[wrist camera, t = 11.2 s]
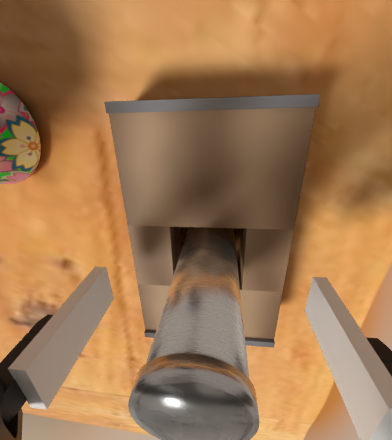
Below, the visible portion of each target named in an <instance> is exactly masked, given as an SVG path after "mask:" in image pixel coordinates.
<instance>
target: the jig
mask: <svg viewBox="0 0 392 440" xmlns="http://www.w3.org/2000/svg"><path fill="white" fill-rule="evenodd" d="M319 99H320V94H307V95H279V96H251V97H224V98H196V99H169V100H141V101H113V102H105V107H106V113H109V117H110V123H111V129H112V135H113V141H114V147H115V153H116V158H117V164H118V170H119V176H120V182H121V188H122V194H123V200H124V206H125V212H126V218H127V223H128V229H129V235H130V241H131V247H132V253H133V259H134V265H135V271H136V277H137V283H138V288H139V294H140V300H141V306H142V312H143V318H144V324H145V337H152V338H154V337H155V333H156V330H157V327H158V324H159V321H160V317H161V314H162V311H163V308H164V304H165V301H166V298H167V295H168V292H169V288H170V285H171V282H172V279H173V276H174V272H175V269H176V266H177V263H178V259H179V256H180V253H181V250H182V248H181V231H180V227H207V228H241V233H240V247H239V261H237V266H238V276H239V286H240V295H241V305H242V315H243V324H244V334H245V344H246V345H250V346H262V347H274V344H275V342H274V337H275V331H276V326H277V320H278V314H279V309H280V303H281V298H282V292H283V287H284V281H285V276H286V270H287V265H288V259H289V254H290V248H291V242H292V237H293V231H294V226H295V220H296V215H297V209H298V204H299V198H300V193H301V187H302V182H303V176H304V170H305V165H306V159H307V154H308V148H309V143H310V137H311V132H312V126H313V121H314V115H315V110H316V107H318V105H319Z"/></svg>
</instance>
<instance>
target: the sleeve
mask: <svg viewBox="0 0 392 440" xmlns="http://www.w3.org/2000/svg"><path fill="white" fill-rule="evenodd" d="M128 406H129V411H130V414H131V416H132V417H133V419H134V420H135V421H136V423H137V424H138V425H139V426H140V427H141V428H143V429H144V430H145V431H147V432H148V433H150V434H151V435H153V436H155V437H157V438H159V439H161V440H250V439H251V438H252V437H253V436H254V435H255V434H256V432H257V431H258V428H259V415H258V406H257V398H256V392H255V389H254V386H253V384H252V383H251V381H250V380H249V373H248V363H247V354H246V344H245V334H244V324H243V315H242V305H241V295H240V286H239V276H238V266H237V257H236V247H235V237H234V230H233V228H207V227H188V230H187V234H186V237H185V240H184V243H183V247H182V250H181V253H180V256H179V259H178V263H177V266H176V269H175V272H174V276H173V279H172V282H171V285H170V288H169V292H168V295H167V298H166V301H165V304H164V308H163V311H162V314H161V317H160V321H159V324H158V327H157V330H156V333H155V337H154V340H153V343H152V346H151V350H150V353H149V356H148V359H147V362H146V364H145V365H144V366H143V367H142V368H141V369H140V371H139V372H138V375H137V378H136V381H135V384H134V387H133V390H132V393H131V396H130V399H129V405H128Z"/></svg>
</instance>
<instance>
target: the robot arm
mask: <svg viewBox="0 0 392 440" xmlns="http://www.w3.org/2000/svg"><path fill="white" fill-rule="evenodd" d="M113 299H114V298H113V294H112V290H111V286H110V281H109V277H108V273H107V269H106V267H94V269H93V270H92V271H91V272H90V273H89V274H88V276H87V277H86V278H85V279H84V280H83V281H82V283H81V284H80V285H79V286H78V287H77V288H76V290H75V291H74V292H73V293H72V294H71V295H70V297H69V298H68V299H67V300H66V301H65V302H64V304H63V305H62V306H61V307H60V308H59V309H58V311H57V312H56V313H55V314H54V315H47V316H45V317H44V318H42V319H41V320H40V321H38V322H37V323H36V324H35V325H34V326H33V328H32V329H31V330H30V331H29V333H27V334H26V335H25V336H24V337H23V339H22V341H20V342H19V343H18V344H17V345H16V346H15V347H14V348H13V350H12V351H11V352H10V353H9V354H8V355H7V356H6V357H5V358H4V359H3V361H2V362H1V363H0V440H21V439H22V414H23V413H22V409H21V407H22V406H23V405H24V403H25V402H26V400H27V401H28V403H29V405H30V406H31V408H39V409H48V407H49V405H50V404H51V402H52V400H53V399H54V397H55V395H56V394H57V392H58V390H59V389H60V387H61V385H62V384H63V382H64V380H65V379H66V377H67V375H68V374H69V372H70V370H71V369H72V367H73V365H74V364H75V362H76V360H77V359H78V357H79V355H80V354H81V352H82V350H83V349H84V347H85V345H86V344H87V342H88V340H89V339H90V337H91V335H92V334H93V332H94V330H95V329H96V327H97V325H98V324H99V322H100V321H101V319H102V317H103V316H104V314H105V312H106V311H107V309H108V307H109V306H110V304H111V302H112V301H113ZM305 313H306V315H307V317H308V320H309V322H310V324H311V327H312V329H313V331H314V334H315V336H316V338H317V341H318V343H319V345H320V348H321V350H322V352H323V355H324V357H325V359H326V361H327V364H328V366H329V368H330V371H331V373H332V375H333V378H334V380H335V382H336V385H337V387H338V389H339V392H340V394H341V396H342V398H343V401H344V403H345V406H346V408H347V410H348V412H349V415H350V417H351V420H352V422H353V424H354V426H355V429H356V431H357V433H358V436H359V438H360V440H392V351H391V350H390V349H389V348H388V347H387V346H386V345H385V344H383V343H382V342H381V341H380V340H379V339H377V338H366V337H365V335H364V334H363V332H362V331H361V329H360V328H359V326H358V325H357V323H356V322H355V320H354V319H353V317H352V316H351V314H350V313H349V311H348V310H347V308H346V306H345V305H344V303H343V302H342V300H341V299H340V297H339V296H338V294H337V293H336V291H335V290H334V288H333V287H332V285H331V284H330V282H329V281H328V279H327V278H322V277H313V279H312V283H311V287H310V291H309V296H308V300H307V304H306V308H305Z"/></svg>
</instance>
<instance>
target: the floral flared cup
mask: <svg viewBox="0 0 392 440" xmlns="http://www.w3.org/2000/svg"><path fill="white" fill-rule="evenodd" d="M40 154H41V143H40V137H39V133H38V130H37V127H36V124H35V122H34V120H33V118H32V116H31V114H30V112H29V111H28V109H27V108H26V106H25V105H24V104H23V102H22V101H21V100H20V99H19V98H18V96H17V95H16V94H15V93H14V92H13V91H11V90H10V89H9V88H8V87H7V86H5V85H4V84H3V83H1V82H0V183H2V184H13V183H18V182H21V181H23V180H25V179H27V178H28V177H29V176H31V175H32V174H33V172H34V171H35V170H36V168H37V166H38V163H39V160H40Z"/></svg>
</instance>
